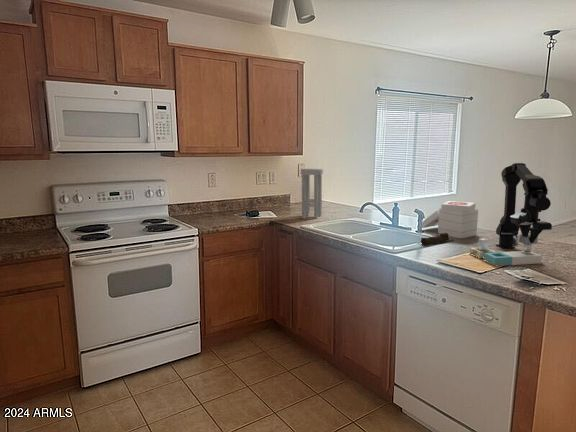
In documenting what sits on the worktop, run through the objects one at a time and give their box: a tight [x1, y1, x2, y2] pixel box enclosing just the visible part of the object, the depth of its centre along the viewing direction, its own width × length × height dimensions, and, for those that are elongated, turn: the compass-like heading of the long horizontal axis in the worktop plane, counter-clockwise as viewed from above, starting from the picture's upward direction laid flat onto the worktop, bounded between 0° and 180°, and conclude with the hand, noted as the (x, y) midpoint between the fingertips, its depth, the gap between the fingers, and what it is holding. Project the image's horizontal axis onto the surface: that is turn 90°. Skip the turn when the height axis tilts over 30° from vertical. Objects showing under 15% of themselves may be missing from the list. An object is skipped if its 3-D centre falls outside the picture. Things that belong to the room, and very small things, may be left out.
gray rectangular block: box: [518, 234, 539, 252], centre depth 178 cm, size 4×6×7 cm
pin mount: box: [469, 246, 497, 259], centre depth 188 cm, size 8×8×3 cm
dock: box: [483, 250, 543, 266], centre depth 178 cm, size 8×22×4 cm, turn 98°
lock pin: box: [477, 238, 489, 251], centre depth 188 cm, size 3×3×8 cm
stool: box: [300, 167, 324, 219], centre depth 290 cm, size 16×16×35 cm
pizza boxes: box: [421, 200, 479, 239], centre depth 235 cm, size 19×30×18 cm, turn 33°
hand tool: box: [420, 233, 450, 246], centre depth 213 cm, size 19×4×5 cm, turn 116°
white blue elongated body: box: [513, 236, 518, 245], centre depth 219 cm, size 5×7×25 cm
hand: (528, 241), depth 178 cm, fingers closed on gray rectangular block, 4 cm apart
